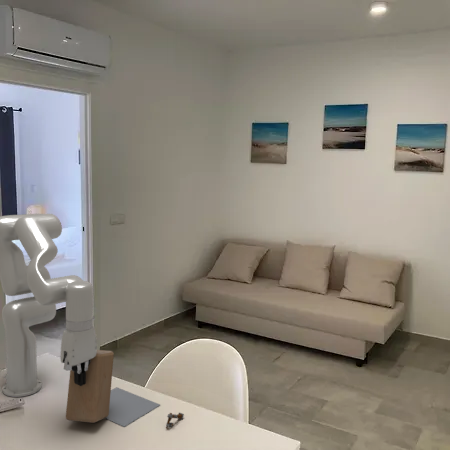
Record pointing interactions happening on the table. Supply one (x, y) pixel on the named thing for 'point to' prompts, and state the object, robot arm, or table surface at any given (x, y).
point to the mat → (128, 407)
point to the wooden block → (91, 390)
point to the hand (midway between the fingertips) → (80, 383)
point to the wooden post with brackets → (170, 416)
